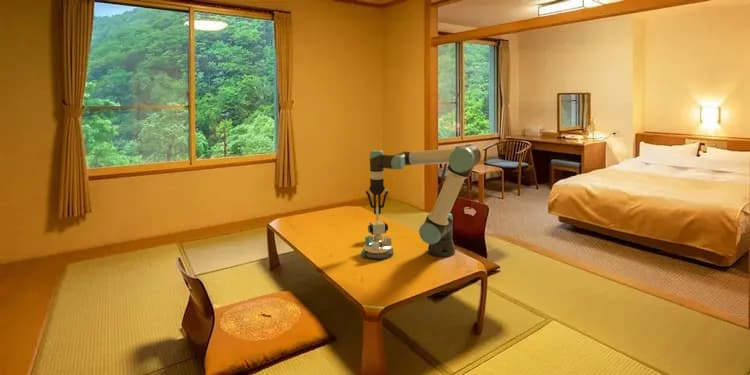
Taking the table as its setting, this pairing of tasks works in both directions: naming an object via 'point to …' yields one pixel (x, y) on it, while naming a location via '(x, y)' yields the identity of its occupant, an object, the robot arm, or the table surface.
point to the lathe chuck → (377, 245)
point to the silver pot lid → (376, 255)
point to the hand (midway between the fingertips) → (377, 219)
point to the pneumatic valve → (378, 229)
